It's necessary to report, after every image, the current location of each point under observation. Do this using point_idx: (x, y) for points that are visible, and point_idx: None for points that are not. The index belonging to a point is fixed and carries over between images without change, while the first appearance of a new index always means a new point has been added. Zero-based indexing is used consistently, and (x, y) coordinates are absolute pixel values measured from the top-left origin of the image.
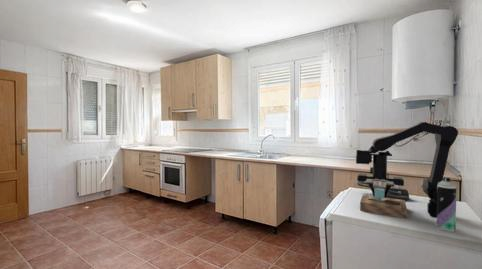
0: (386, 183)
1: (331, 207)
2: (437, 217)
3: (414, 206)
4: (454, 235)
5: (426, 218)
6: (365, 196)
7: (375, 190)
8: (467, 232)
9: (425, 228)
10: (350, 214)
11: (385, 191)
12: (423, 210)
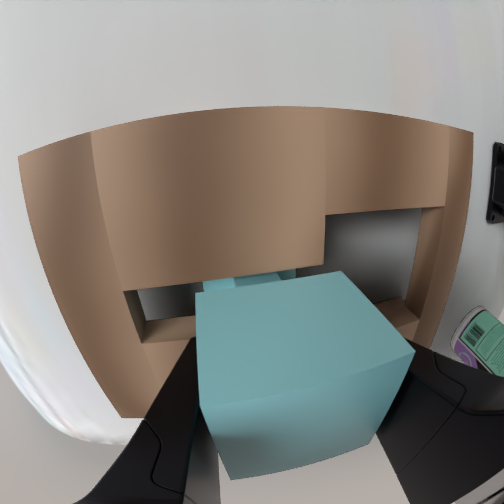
0: (475, 488)
1: (15, 381)
2: (474, 365)
3: (454, 58)
4: (458, 359)
5: (465, 261)
6: (63, 219)
7: (243, 474)
8: (494, 313)
9: None
10: (125, 425)
11: (380, 434)
12: (482, 126)
